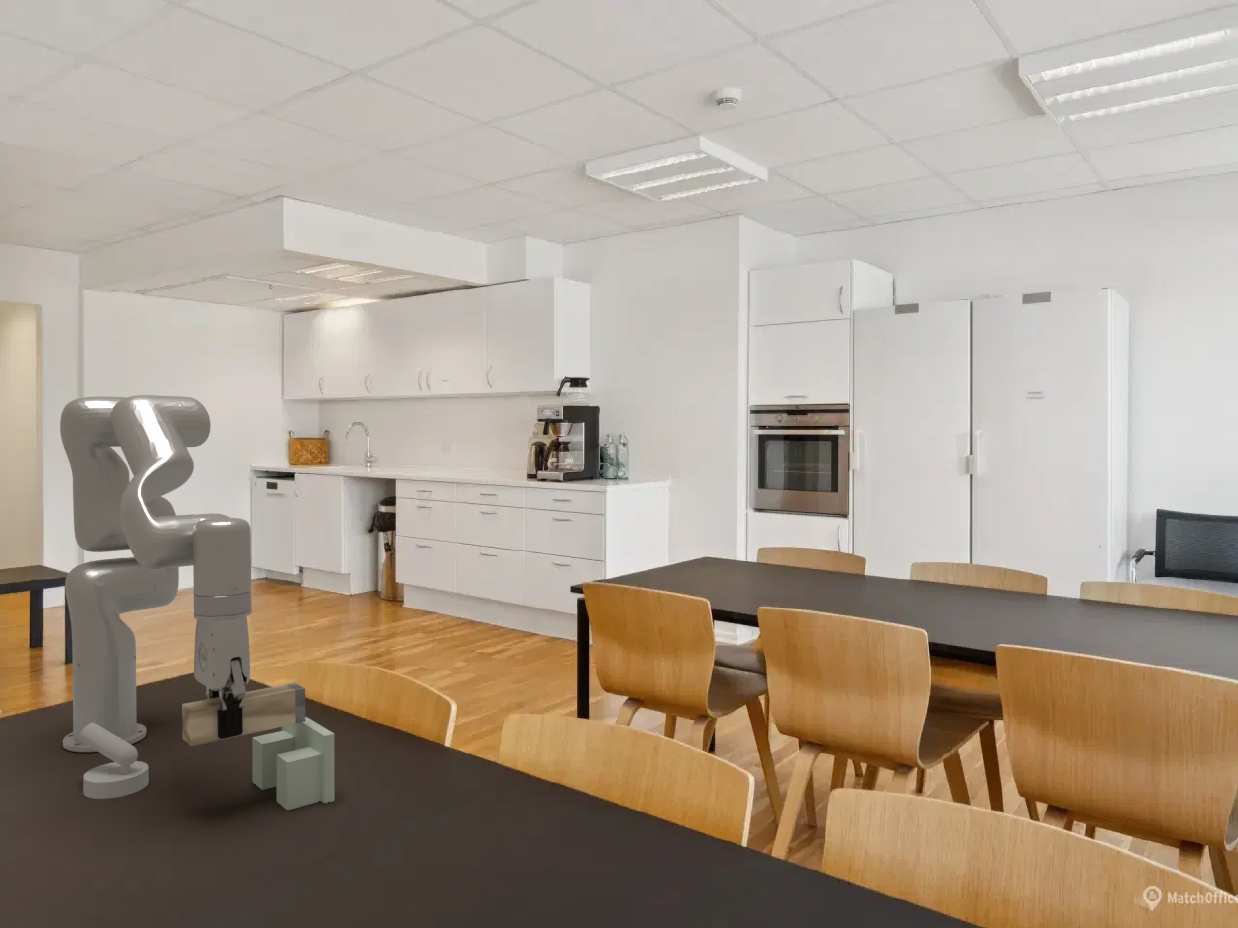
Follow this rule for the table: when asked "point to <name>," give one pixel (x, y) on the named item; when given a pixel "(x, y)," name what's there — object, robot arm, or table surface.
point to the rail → (245, 713)
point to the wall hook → (112, 766)
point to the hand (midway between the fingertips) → (224, 730)
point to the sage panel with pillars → (296, 764)
